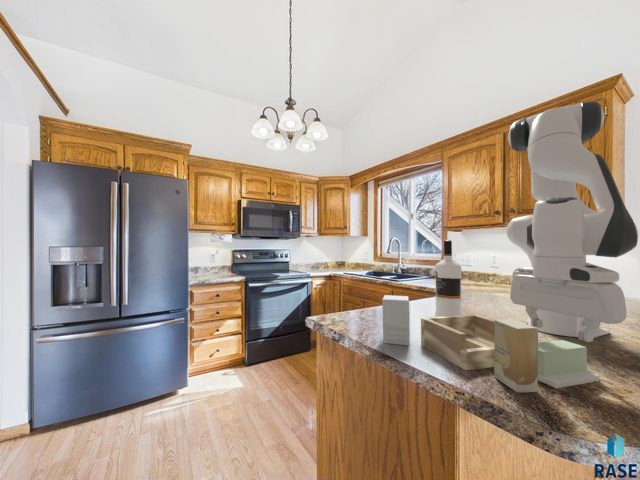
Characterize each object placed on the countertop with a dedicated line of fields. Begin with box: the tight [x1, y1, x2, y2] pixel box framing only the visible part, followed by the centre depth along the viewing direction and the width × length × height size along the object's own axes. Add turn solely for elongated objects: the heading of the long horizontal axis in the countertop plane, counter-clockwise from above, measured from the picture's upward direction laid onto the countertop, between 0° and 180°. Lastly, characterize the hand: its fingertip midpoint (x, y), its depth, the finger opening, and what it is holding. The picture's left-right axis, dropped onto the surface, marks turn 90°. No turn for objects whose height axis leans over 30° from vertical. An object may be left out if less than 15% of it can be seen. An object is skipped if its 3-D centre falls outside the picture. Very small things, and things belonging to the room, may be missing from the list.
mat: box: [538, 370, 601, 389], centre depth 57 cm, size 12×9×1 cm
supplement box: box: [381, 294, 411, 346], centre depth 78 cm, size 7×7×13 cm
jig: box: [420, 313, 496, 371], centre depth 69 cm, size 18×16×8 cm
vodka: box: [434, 239, 463, 317], centre depth 92 cm, size 9×9×30 cm
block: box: [538, 339, 588, 377], centre depth 58 cm, size 12×4×5 cm, turn 104°
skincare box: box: [493, 318, 539, 394], centre depth 53 cm, size 6×4×12 cm
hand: (559, 333), depth 58 cm, fingers open, 8 cm apart
